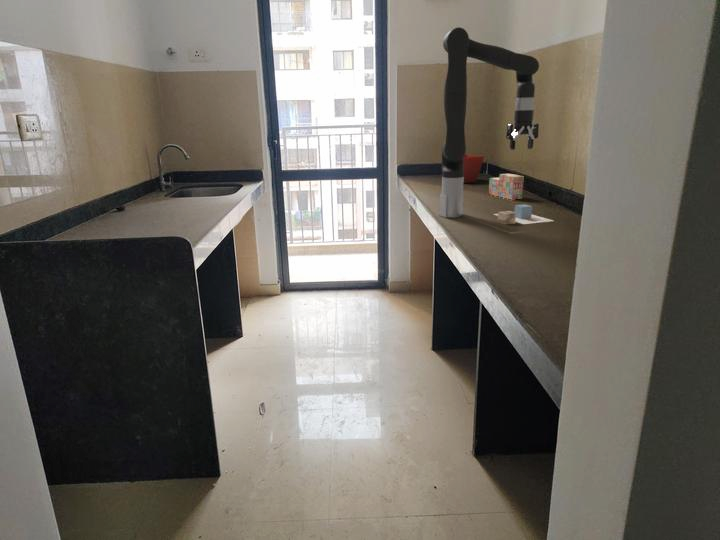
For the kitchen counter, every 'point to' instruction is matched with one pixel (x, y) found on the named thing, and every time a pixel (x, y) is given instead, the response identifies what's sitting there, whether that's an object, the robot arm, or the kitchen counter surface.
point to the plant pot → (472, 167)
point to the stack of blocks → (507, 186)
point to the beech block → (506, 217)
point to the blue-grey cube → (523, 211)
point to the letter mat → (531, 219)
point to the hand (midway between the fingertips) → (521, 149)
